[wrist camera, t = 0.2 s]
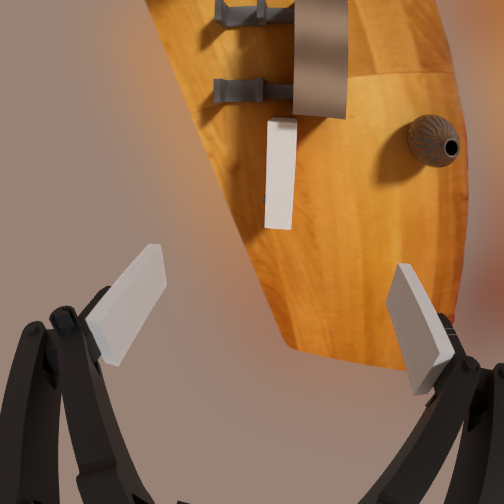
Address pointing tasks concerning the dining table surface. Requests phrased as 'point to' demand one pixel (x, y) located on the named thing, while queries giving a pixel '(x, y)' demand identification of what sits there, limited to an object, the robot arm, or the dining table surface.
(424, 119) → the vase
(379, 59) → the dining table surface
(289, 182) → the door
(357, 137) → the dining table surface
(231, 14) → the cabinet
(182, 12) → the dining table surface
